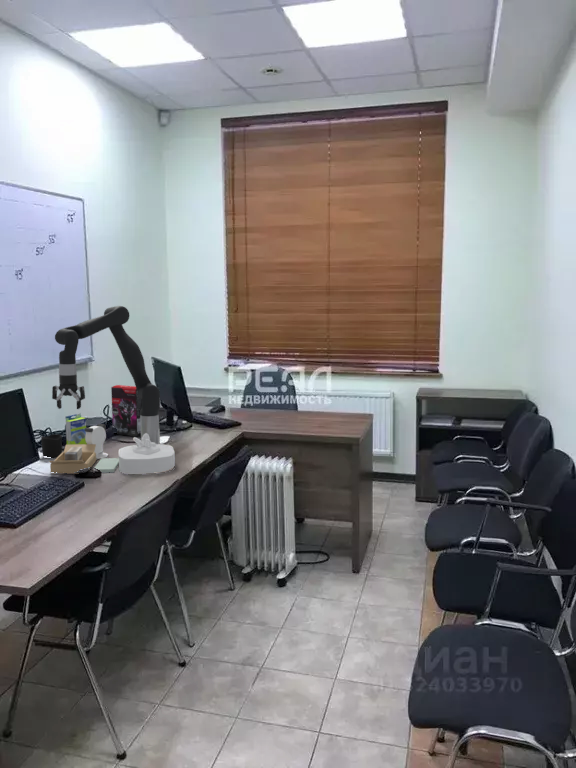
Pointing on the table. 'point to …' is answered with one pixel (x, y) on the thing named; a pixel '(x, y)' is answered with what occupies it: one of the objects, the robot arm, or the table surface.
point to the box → (75, 429)
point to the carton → (74, 465)
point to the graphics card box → (126, 410)
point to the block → (74, 454)
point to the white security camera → (96, 439)
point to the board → (107, 464)
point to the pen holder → (52, 445)
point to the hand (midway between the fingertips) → (69, 408)
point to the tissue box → (146, 457)
